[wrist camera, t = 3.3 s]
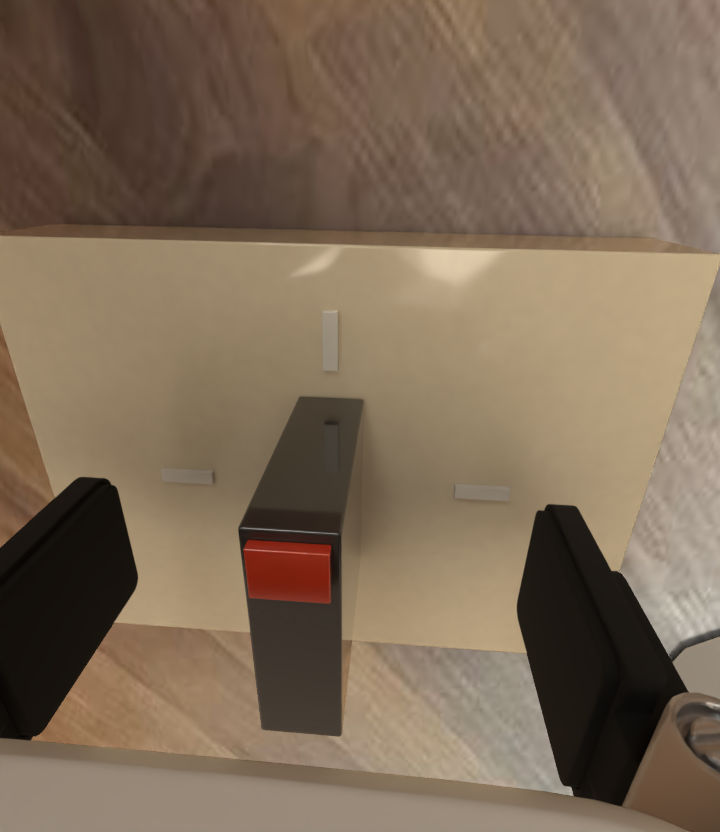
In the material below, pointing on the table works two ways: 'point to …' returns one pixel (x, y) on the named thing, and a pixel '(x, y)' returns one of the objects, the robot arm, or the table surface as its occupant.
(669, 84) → the table surface
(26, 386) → the beige lever switch base
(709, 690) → the flask
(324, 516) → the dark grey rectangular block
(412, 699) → the table surface
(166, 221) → the table surface
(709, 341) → the table surface
